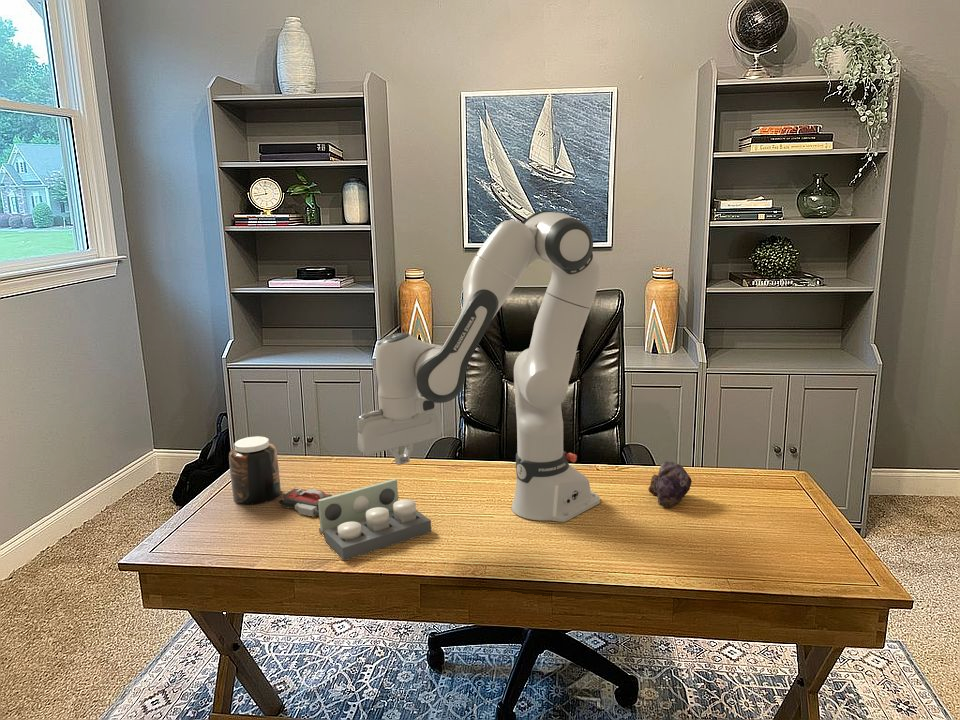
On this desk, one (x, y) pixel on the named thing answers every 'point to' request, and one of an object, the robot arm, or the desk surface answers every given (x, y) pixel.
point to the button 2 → (404, 510)
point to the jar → (254, 471)
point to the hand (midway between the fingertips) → (402, 463)
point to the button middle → (377, 519)
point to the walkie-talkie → (303, 500)
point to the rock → (670, 484)
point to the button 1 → (349, 530)
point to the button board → (377, 536)
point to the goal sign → (356, 504)
